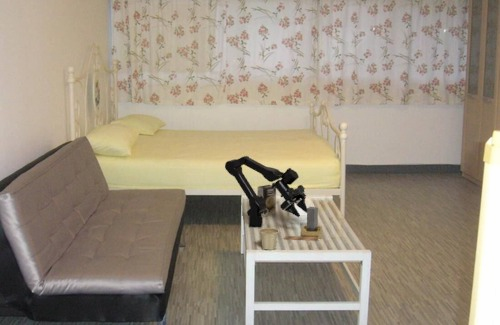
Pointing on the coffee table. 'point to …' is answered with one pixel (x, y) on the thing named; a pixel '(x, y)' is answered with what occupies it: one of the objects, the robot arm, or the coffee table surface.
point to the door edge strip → (301, 238)
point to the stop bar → (312, 218)
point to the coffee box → (268, 199)
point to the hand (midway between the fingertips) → (303, 214)
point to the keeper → (312, 232)
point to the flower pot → (268, 238)
